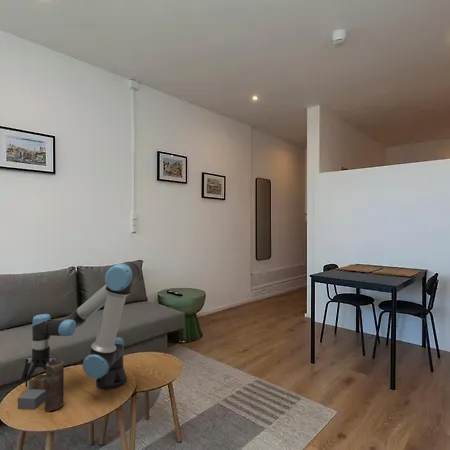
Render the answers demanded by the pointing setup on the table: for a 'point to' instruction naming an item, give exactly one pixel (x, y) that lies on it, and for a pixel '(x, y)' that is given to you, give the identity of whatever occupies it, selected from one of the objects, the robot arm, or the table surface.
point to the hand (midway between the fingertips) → (40, 393)
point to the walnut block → (39, 382)
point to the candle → (54, 385)
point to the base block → (31, 399)
